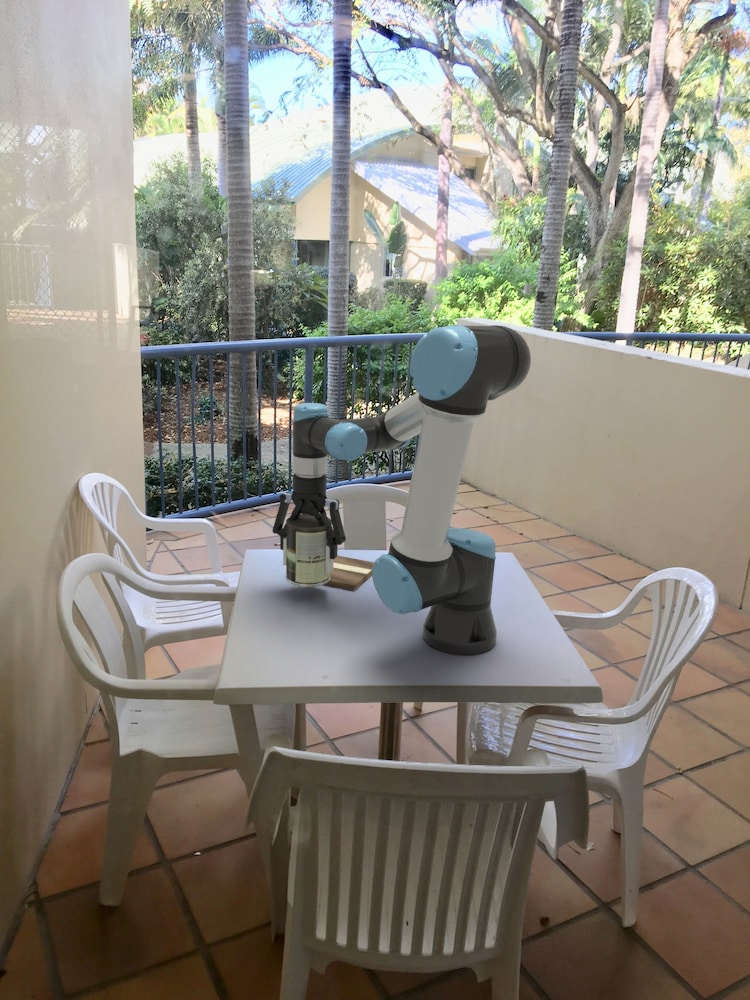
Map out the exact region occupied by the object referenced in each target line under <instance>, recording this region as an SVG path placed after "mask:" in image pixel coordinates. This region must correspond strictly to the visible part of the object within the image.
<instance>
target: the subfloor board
mask: <svg viewBox="0 0 750 1000" xmlns="http://www.w3.org/2000/svg"><path fill="white" fill-rule="evenodd" d="M374 562H375V561H369V560H364V559H360V558H359V559H357V558H352V557H347V556H342V555H337V557H336V558H335V559H334V563H338V564H343V565H349V566H354V567H359V568H365V569H370V570H371V571H370V572H369V573H368V574H367V575H366V574H361V573H356V572H350V571H345V570H340V569H335V568H333V570H332V571H331V572H330V580H329V581H328V582H327V583H326V584H323V585H322V586H326V585H327V587H331V588H335V587H336V589H340V588H341V590H346V591H351V592H356V590H358V589H359V588H360V587H361V586H362V585H363V584H364V583H366V581H367V580H369V579H370V578H371V577H372V569H373V565H374Z"/></svg>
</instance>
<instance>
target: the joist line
mask: <svg viewBox="0 0 750 1000" xmlns="http://www.w3.org/2000/svg"><path fill="white" fill-rule="evenodd" d="M333 568H335V569H340V570H345V571H350V572H356V573H361V574H366V575H367V574H368V573H369V572H370V571H371V570H370V569H365V568H359V567H354V566H349V565H343V564H338V563H334V565H333Z"/></svg>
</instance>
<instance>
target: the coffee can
mask: <svg viewBox="0 0 750 1000" xmlns="http://www.w3.org/2000/svg"><path fill="white" fill-rule="evenodd" d="M327 518H328V520H329V522H330V523H328V524H327V525H326V526H325V525H323V526H321V525H320V524H319V522H318V520H316V519H315V517H314V516H312V515H308V514H300V516H299V518H297V519H295V520H294V521H292V520H289V517H288V518H286V519H285V524H286V525H287V539H286V540H287V552H286V565H285V566H286V570H285V571H286V573H285V574H286V576H285V579H286V581H287V582H288V584H291V585H293V586H296V587H300V588H301V587H302V588H314V587H320V586H324V585H323V584H326V583H327V582H328V581H329V580H330V573H329V574H327V573H325V566H326V546H327V545H328V544H329V543H328V541H327V539H326V529H327V528H329V527H330V526H332V522H331V517H330V518H329V516H327Z"/></svg>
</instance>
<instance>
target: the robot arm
mask: <svg viewBox="0 0 750 1000" xmlns="http://www.w3.org/2000/svg"><path fill="white" fill-rule="evenodd" d="M410 358H411V359H410V362H409V363H410V365H409V372H410V373H409V375H410V377H412V378H413V379H412V381H411V383H412V385H413V387H414V390H415V391H416V393H414V394H413V395H411V396H409V397H408V398H406V399H405V400H403V401H401V402H400V403H398V404H396V405H395V406H393V407H391V408H390V409H389V410H387V411H385V412H384V413H381V414H380V415H377V416H370V417H361V418H352V419H334V418H331V417H330V414H329V408H328V407H327V405H326V404H323V403H318V402H302V403H298V404H296V405H294V408H293V418H292V419H293V420H292V472H293V474H292V493H290V492H288V491H285V492H283V493H281V494H280V495H279V506H278V509H277V513H276V517H275V521H274V524H273V527H272V530H271V531H272V533H273V534H275V535H276V534H277V535H278V536H279V541H280V542H279V543H280V545H279V548H280V550H282V552H283V553H282V555H283V557H282V558H283V562H282V563H283V566H286V552H287V540H286V539H287V525H286V523H285V522H286V516H287V513H288V510H289V506H290V503H291V501H292V502H293V504H294V505H295V506H294V507H293V509H292V511H291V514H290V515H289V517H288V518H289V520H292V521H294V520H295V519H297V518H299V516H300V514H308V515H312V516H314V517H315V519H316V520H318V522H319V524H320V525H321V526H323V525H325V526H326V525H327V524H328V523H330V522H329V520H328V518H329V517H330V519H331V522H332V525H331V526H330V527H329V528H327V529H326V539H327V541H328V543H329V544H328V545H327V546H326V566H325V573H327V574H329V573H330V572H331V571H332V570H333V565H334V559H335V558H336V557H337V556H338V547H339V546H340V545H342V544H344V543H345V542H346V541H347V540H346V539H347V537H346V535H345V530H344V526H343V522H342V518H341V512H340V500H339V499H334V500H333V499H329V498H328V497H327V495H326V494H327V478H328V477H327V475H326V473H327V471H328V468H327V467H328V466H327V465H328V456H331V457H333V458H335V459H338V460H345V461H350V462H351V461H355V460H358V459H359V458H360V457H361V456H363V454H369V453H374V452H384V451H395V450H399V449H402V448H404V447H407V446H408V445H410V443H411V442H412V441H411V440H413V437H416V436H417V435H419V439H418V442H417V443H418V444H417V449H416V453H415V458H414V464H413V469H412V475H411V479H410V484H409V490H408V495H407V500H406V503H405V504H406V505H405V509H404V514H403V519H402V526H401V529H400V530H398V531H396V532H394V533H393V535H392V536H391V539H390V543H389V549H388V552H387V553H383V554H382V555H380V556H379V557H377V559H375V561H373V562H374V565H373V569H372V576H371V577H372V584H373V586H374V589H375V591H376V593H377V596H378V599H380V601H381V602H382V604H383V605H384V606H385V607H386V608H387V609H388V610H391V612H393V613H395V614H399V615H406V614H411V613H417V612H420V611H421V610H424V609H427V608H430V609H429V611H428V613H427V615H426V618H425V619H424V620H425V621H424V622H423V627H422V637H423V640H424V641H425V642H426V643H427V644H428V645H429V646H431V648H434V649H436V650H438V651H440V652H441V651H442V652H444V653H448V654H455V655H463V656H466V655H467V656H469V655H478V654H483V653H485V652H488V651H490V650H492V648H494V646H495V645H496V643H497V633H498V632H497V628H496V623H495V620H494V615H493V612H492V611H493V610H492V606H491V605H492V604H491V603H492V594H493V583H494V575H495V573H494V572H495V565H496V559H497V556H496V542H495V541H494V539H493V538H492V537H491V536H489V535H488V534H485V533H483V532H480V531H478V530H474V529H469V528H464V527H463V528H462V527H451V522H452V518H453V513H454V509H455V506H456V501H457V496H458V492H459V488H460V483H461V478H462V474H463V469H464V466H465V461H466V456H467V454H468V453H467V452H468V448H469V444H470V440H471V435H472V431H473V426H474V422H475V421H476V420H477V419H478V418H481V417H482V416H484V415H485V413H486V409H487V407H488V406H487V405H488V403H489V402H488V401H493V400H496V399H498V398H499V397H502V396H503V395H506V394H507V393H510V392H511V391H514V390H515V389H517V388H518V387H519V386H520V385H522V383H523V382H524V381H525V380H526V378H527V375H528V374H529V372H530V369H531V364H532V363H531V362H532V357H531V351H530V347H529V344H528V343H527V342H526V340H525V339H524V337H523V336H522V335H521V334H520V333H518V332H517V330H514V329H513V328H511V327H509V326H506V325H497V324H495V325H494V324H493V325H463V324H462V325H459V324H450V325H446V326H438V327H435V328H432V329H431V330H429V331H428V332H427V333H425V334H424V335H423V336H421V338H420V339H419V340H418V342H417V343H416V345H415V347H414V349H413V351H412V353H411V357H410ZM325 506H327V510H328V511H329V517H328V514H327V511H326V509H325ZM327 517H328V518H327ZM338 545H339V546H338Z"/></svg>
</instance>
